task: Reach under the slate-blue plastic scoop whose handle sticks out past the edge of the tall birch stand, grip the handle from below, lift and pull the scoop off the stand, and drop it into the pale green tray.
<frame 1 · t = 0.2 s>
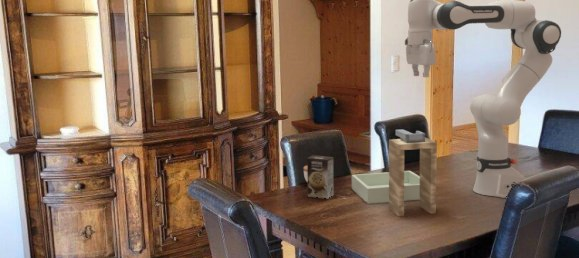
hand: (421, 76, 209), 48 cm above the table, tool pointing down, fingers open, 8 cm apart
lidded jar: (316, 184, 240), on the table
pale green tray: (390, 193, 223), on the table
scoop: (412, 140, 196), point 26 cm above the table, touching birch stand
birch stand: (411, 210, 200), on the table
cookie box: (320, 196, 222), on the table
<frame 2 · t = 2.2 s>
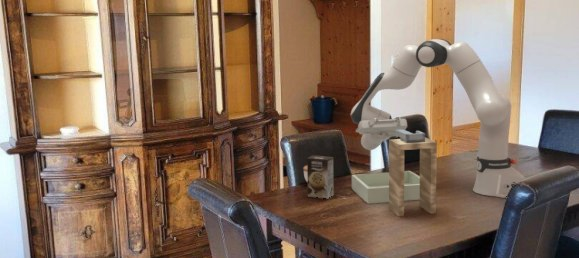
hand: (387, 119, 221), 30 cm above the table, tool pointing upward, fingers open, 8 cm apart
nothing on the table moved.
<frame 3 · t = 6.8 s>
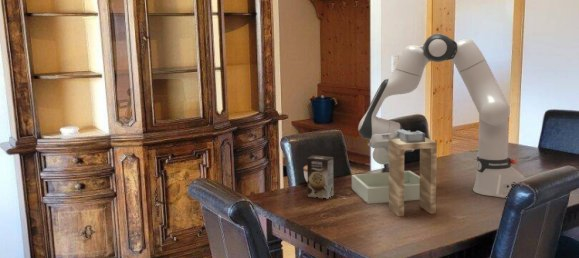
hand: (403, 132, 205), 27 cm above the table, tool pointing upward, fingers closed on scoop, 3 cm apart
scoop: (412, 140, 196), point 26 cm above the table, touching birch stand, gripper
everything else where it was.
when the fingers open (20 cm above the table, at t = 11.2 s): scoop drops 9 cm, resting on pale green tray.
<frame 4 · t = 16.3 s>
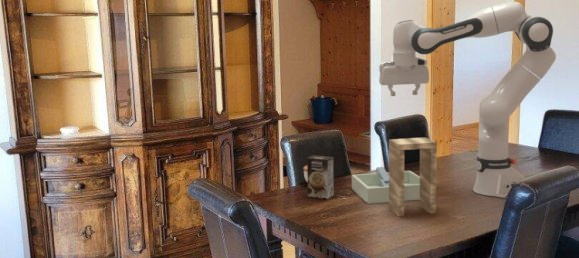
hand: (404, 95, 223), 39 cm above the table, tool pointing down, fingers open, 8 cm apart
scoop: (390, 189, 222), point 2 cm above the table, tilted 21°, touching pale green tray
everything else where it was.
at the end: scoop inside the target area (0.2 cm from its centre), point 2.1 cm above the table; the gripper is holding nothing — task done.
